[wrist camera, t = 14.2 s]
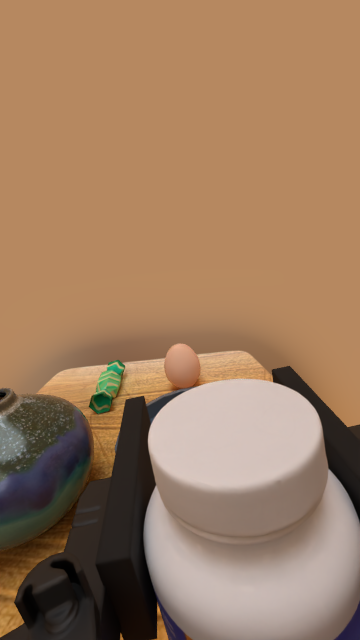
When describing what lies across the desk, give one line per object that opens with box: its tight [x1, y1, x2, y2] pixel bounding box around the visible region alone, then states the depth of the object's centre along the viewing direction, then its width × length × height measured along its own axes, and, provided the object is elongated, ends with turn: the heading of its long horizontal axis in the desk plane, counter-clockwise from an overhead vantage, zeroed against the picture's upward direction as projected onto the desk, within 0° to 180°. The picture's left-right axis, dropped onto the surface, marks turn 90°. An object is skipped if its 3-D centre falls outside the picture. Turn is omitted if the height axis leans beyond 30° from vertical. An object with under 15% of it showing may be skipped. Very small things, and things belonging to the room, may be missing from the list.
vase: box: [0, 388, 94, 551], centre depth 31 cm, size 15×15×13 cm
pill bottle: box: [143, 379, 360, 640], centre depth 9 cm, size 5×5×10 cm
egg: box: [164, 344, 200, 388], centre depth 50 cm, size 6×6×8 cm
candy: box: [89, 360, 125, 414], centre depth 54 cm, size 12×3×4 cm
